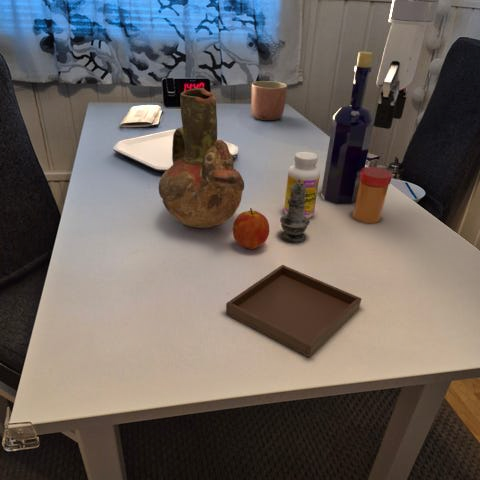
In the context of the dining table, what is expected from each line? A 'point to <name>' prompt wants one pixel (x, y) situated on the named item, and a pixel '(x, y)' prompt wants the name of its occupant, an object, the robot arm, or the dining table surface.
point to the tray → (294, 309)
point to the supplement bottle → (304, 180)
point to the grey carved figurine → (295, 215)
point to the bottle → (349, 140)
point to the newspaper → (142, 116)
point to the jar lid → (375, 176)
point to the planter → (268, 99)
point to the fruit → (250, 229)
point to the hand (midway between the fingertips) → (387, 121)
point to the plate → (154, 149)
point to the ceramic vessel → (200, 167)
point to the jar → (369, 203)
